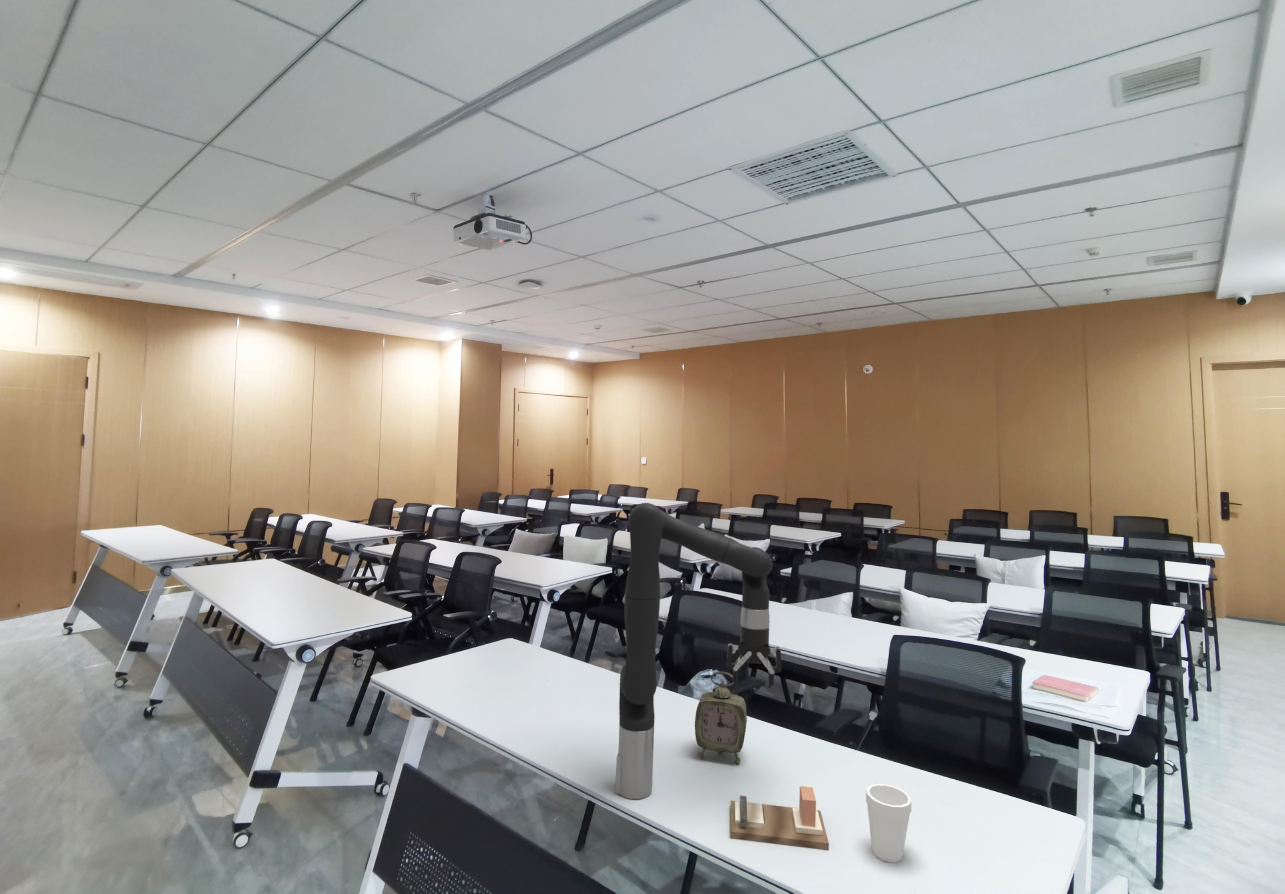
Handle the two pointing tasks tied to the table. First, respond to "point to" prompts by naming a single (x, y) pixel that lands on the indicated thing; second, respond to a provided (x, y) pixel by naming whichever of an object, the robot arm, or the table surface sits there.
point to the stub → (807, 813)
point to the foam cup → (888, 820)
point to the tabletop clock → (721, 720)
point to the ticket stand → (771, 825)
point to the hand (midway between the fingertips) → (752, 685)
